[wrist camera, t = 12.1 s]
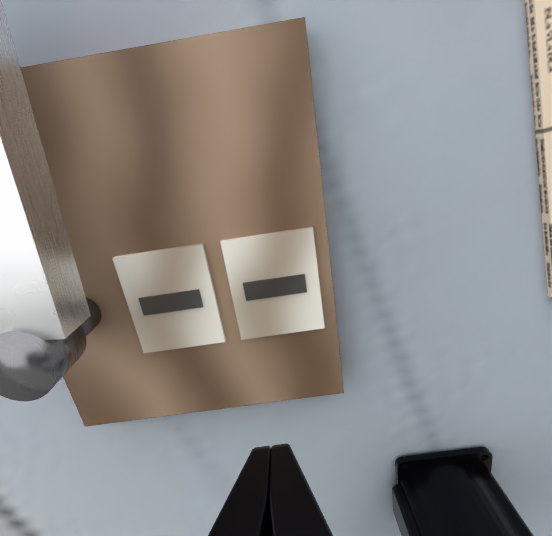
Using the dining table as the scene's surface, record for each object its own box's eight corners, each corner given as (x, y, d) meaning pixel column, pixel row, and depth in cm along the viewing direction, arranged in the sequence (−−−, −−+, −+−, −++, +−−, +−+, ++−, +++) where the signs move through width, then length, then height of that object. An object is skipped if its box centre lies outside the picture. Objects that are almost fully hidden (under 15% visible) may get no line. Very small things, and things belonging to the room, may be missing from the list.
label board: (301, 29, 15) (310, -7, 12) (339, 376, 21) (352, 420, 18) (-36, 88, 16) (-123, 72, 12) (97, 408, 22) (64, 457, 19)
